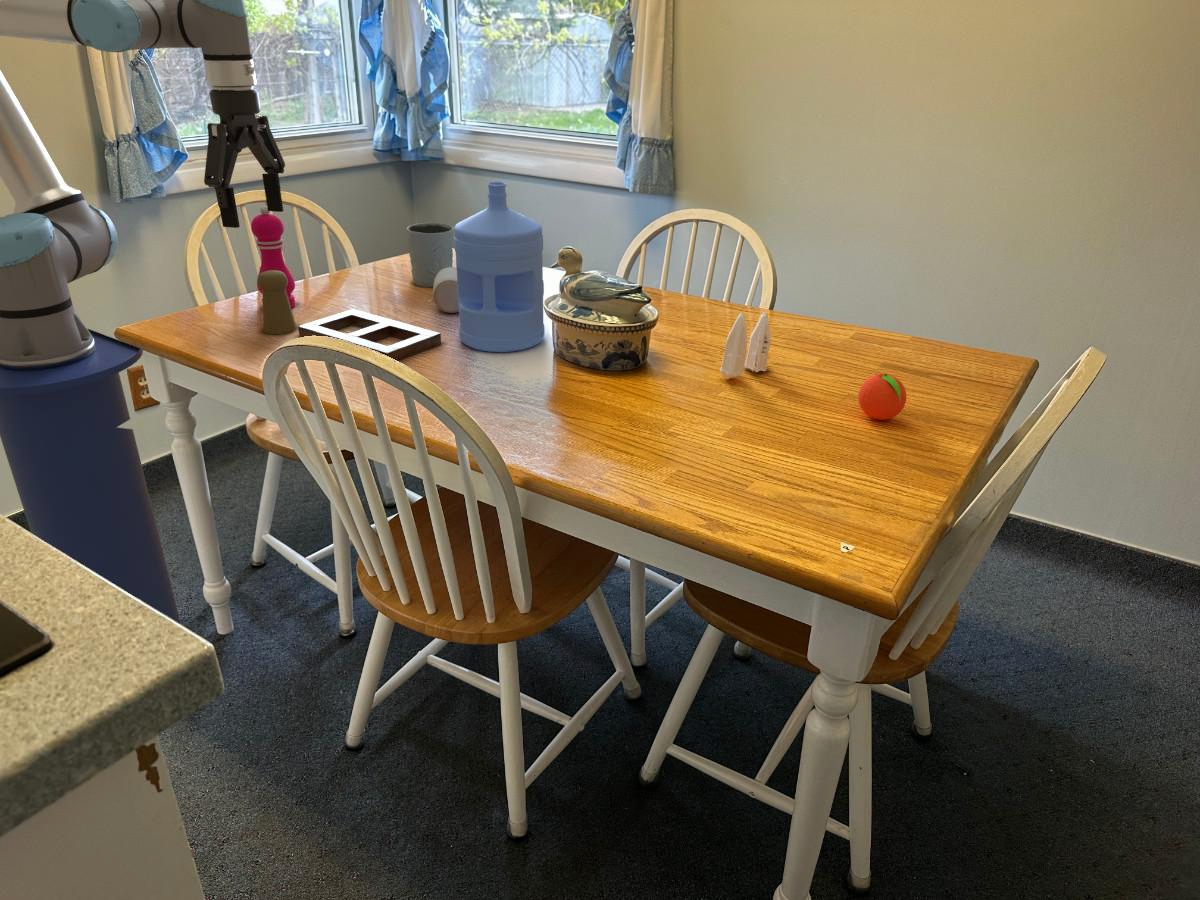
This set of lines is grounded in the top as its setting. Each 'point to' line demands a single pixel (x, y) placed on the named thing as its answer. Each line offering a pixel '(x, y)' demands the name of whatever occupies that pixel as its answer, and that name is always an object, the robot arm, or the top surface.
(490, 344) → the water jug
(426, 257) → the grey tapered cup
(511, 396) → the top surface
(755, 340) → the shaker set
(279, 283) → the olive peg shaker
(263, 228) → the pepper mill
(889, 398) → the clementine
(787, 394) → the top surface
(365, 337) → the holder
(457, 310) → the ceramic mug
